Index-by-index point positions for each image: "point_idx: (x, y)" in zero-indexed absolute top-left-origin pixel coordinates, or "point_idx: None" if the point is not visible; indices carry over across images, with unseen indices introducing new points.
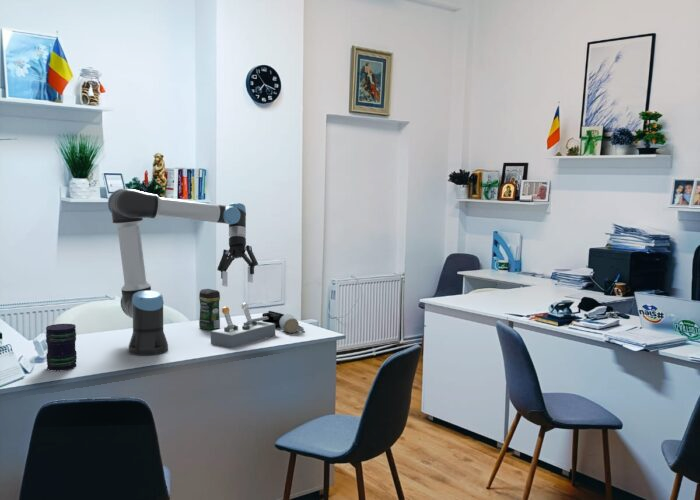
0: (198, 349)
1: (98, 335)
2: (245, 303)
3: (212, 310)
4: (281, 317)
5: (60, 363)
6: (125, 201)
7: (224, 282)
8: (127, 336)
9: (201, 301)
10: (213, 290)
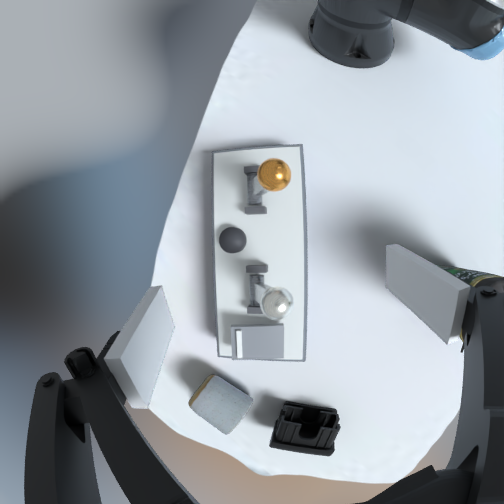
0: (276, 97)
1: None
2: (268, 304)
3: None
4: (242, 412)
5: None
6: None
7: (397, 261)
8: (488, 103)
9: (497, 275)
10: None
